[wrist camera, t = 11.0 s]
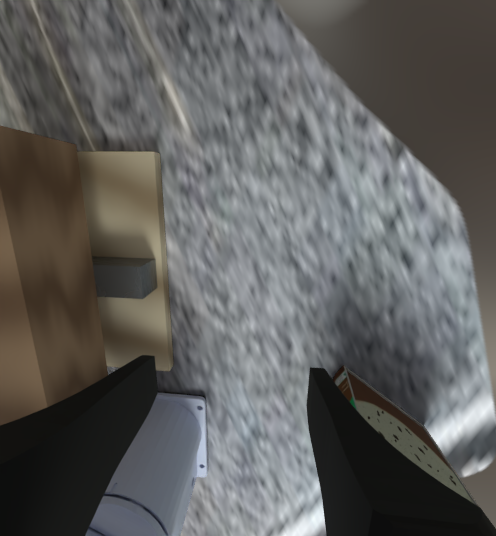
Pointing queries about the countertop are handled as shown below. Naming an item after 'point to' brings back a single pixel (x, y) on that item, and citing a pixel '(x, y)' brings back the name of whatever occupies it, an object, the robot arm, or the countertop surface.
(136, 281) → the balance stand
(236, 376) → the countertop surface
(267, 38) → the countertop surface
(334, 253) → the countertop surface
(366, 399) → the food container
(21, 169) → the walnut bar
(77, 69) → the countertop surface
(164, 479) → the robot arm
